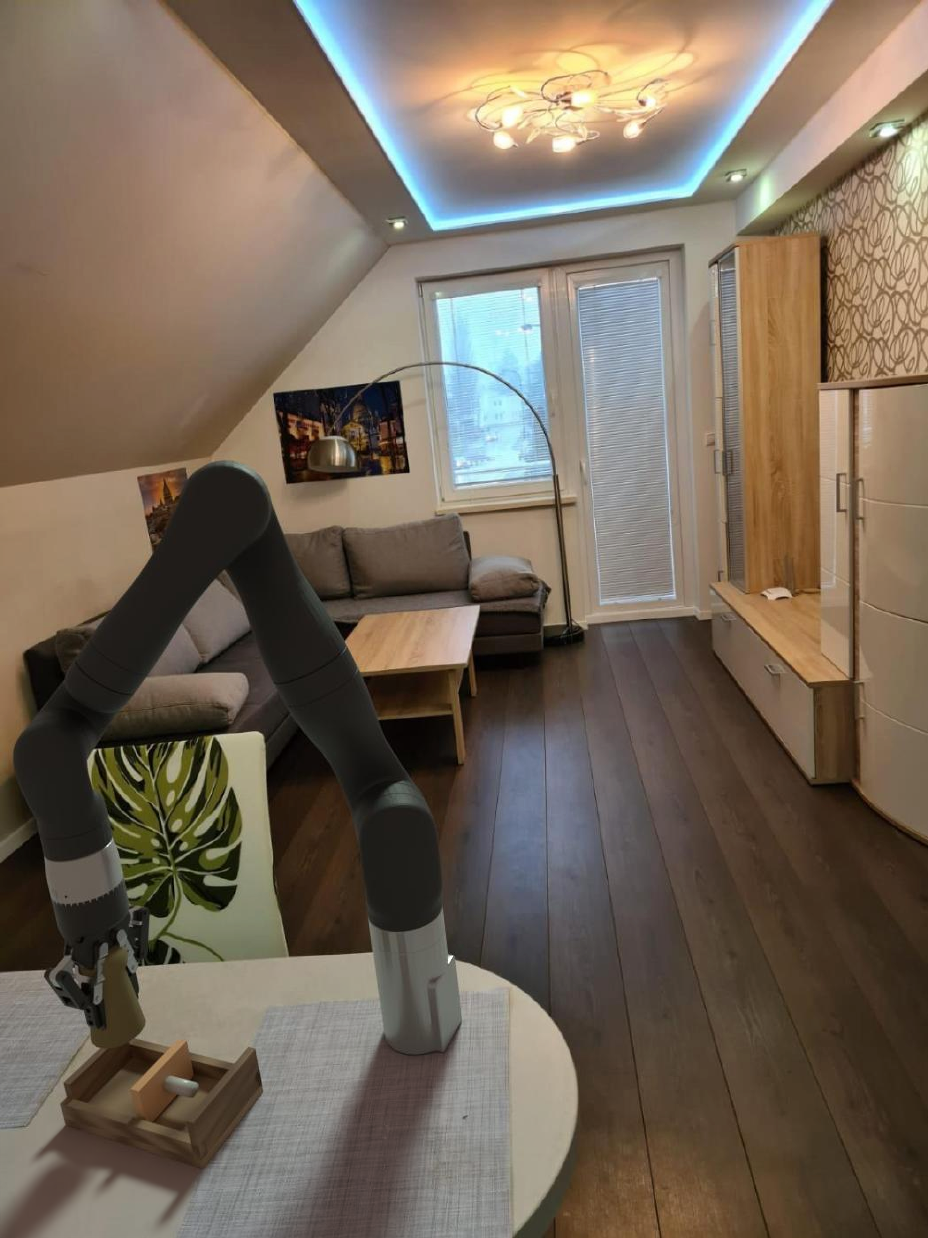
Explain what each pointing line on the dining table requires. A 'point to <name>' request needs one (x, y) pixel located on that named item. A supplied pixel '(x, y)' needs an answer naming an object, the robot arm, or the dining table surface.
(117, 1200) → the dining table surface
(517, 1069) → the dining table surface
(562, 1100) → the dining table surface
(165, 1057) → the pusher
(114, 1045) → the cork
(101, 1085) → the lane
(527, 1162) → the dining table surface
